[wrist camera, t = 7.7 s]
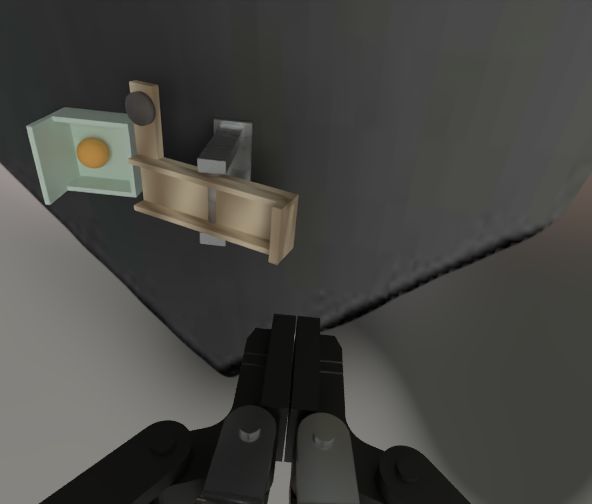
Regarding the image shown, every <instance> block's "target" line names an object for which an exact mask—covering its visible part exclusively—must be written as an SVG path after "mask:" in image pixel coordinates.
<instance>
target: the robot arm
mask: <svg viewBox="0 0 592 504" xmlns="http://www.w3.org/2000/svg"><path fill="white" fill-rule="evenodd" d="M295 322H296V316H293V315H283V314H274V317H273V323H272V330H271V329H261V328H255V330H254V331H253V332H252V333H251V335H250V336H249V337H248V338H247V341H246V346H245V351H244V355H243V360H242V365H241V369H240V374H239V379H238V384H237V388H236V393H235V398H234V403H233V406H232V409H231V411H230V412H229V414H228V415H227V416H226V417H225V419H223V420H222V421H221V422H219V423H217V424H216V425H213V426H211V427H208V428H203V429H197V430H192V431H189V430H188V429H187V428H186V427H185V426H184V425H183V424H181V423H179V422H176V421H170V420H167V421H160V422H156V423H154V424H152V425H150V426H148V427H147V428H145V429H144V430H142V431H141V432H140V433H138V434H137V435H135V436H134V437H133V438H131V439H130V440H128V441H127V442H126V443H124V444H123V445H121V446H120V447H118V448H117V449H116V450H114V451H113V452H111V453H110V454H108V455H107V456H106V457H104V458H103V459H102V460H100V461H99V462H97V463H96V464H95V465H93V466H92V467H90V468H89V469H87V470H86V471H85V472H83V473H82V474H80V475H79V476H77V477H76V478H75V479H73V480H72V481H70V482H69V483H67V484H66V485H65V486H63V487H62V488H60V489H59V490H58V491H56V492H55V493H53V494H52V495H51V496H49V497H48V498H46V499H45V500H43V501H42V502H41V503H39V504H267V503H268V498H269V492H270V487H271V486H272V483H273V479H274V470H275V461H281V462H282V457H283V449H284V440H285V433H286V425H287V435H286V447H285V459H284V461H285V462H292V465H291V479H290V486H289V504H471V503H470V502H469V501H468V500H467V499H466V498H465V497H464V496H463V495H462V494H461V493H460V492H459V491H458V490H457V489H456V488H455V487H454V486H453V485H452V484H451V483H450V482H449V481H448V479H446V477H445V476H443V474H442V473H441V472H440V471H439V470H438V469H437V468H436V467H435V466H434V465H433V464H432V463H431V462H430V461H429V460H428V459H427V458H426V457H425V456H424V455H423V454H422V453H420V452H419V451H417V450H415V449H414V448H411V447H408V446H394V447H391V448H389V449H387V450H386V451H383V450H380V449H378V448H376V447H373V446H370V445H369V444H366V443H364V442H363V441H361V440H360V439H359V438H357V437H356V436H355V435H354V434H353V433H352V431H351V430H350V428H349V427H348V424H347V422H346V418H345V401H344V382H343V365H342V348H341V346H340V344H339V343H338V341H337V339H336V337H335V336H330V335H320V318H313V317H303V316H298V318H297V327H296V335H295ZM294 335H295V343H294ZM293 347H294V351H293ZM292 359H293V361H292ZM290 384H291V385H290ZM287 417H288V422H287Z"/></svg>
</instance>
